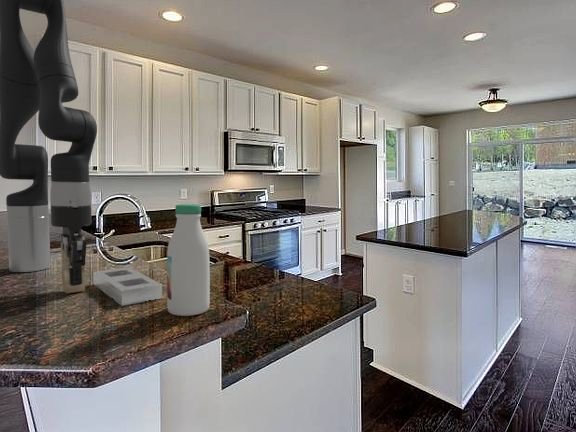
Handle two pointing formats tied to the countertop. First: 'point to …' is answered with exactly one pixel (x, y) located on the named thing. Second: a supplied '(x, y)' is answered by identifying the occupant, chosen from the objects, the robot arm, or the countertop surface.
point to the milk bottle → (188, 264)
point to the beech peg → (66, 279)
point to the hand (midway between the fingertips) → (73, 282)
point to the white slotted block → (127, 286)
